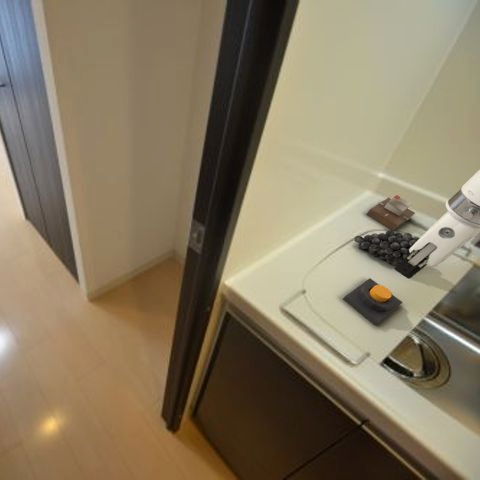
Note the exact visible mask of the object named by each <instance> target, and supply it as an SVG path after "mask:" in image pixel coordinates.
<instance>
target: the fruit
mask: <svg viewBox="0 0 480 480" xmlns="http://www.w3.org/2000/svg"><path fill="white" fill-rule="evenodd" d="M419 239H420V237H419V236H413V235H412V233H410V232H405V233H402V232H395V230H393V231H392V230H390V229H387V231H385V233H384V232H380V233H377V232H376V233H375V232H373V233H372V234H366V235H364V236H361V235H356V236H355V237H354V239H353V240H354V242H355V243H358V245H357V248H358V249H359V250H361V251H364V250H366V251H367V252H369V254H371V255H372V256H373V257H375V258H378V257H379V258H380V260H382V261H385V260H386V262H387V263H389V264H391V265H393V266H397V265H398V264H399V263H400V262H401V261H402V260H404V259H405V258H406V257H407V256H408V255H410V254H412V252H411V253H410V251H409V249H410V248H411V247H412V246H413V245H414V244H415V243H416V242H417V241H418V240H419Z"/></svg>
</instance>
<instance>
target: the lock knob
mask: <svg viewBox="0 0 480 480" xmlns="http://www.w3.org/2000/svg"><path fill="white" fill-rule="evenodd" d="M390 199H391V200H390V201H389V202H388V203H387V204H386V206H385V207H384V208H386V209H388V210H389V211H391V212H393V213H395V214H396V215H398V216H400V215H402V214H403V213H404V212H405V211H406V210H407V209H409V208H410V206H412V203H411V202H409V201H407V200H405V199H403V198H402V197H401V196H400V195H397V194H396V195H394V196H392V197H391V198H390Z"/></svg>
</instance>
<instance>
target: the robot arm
mask: <svg viewBox="0 0 480 480" xmlns="http://www.w3.org/2000/svg"><path fill="white" fill-rule="evenodd" d="M445 207H446V210H447V211H446V212H445V213H444V214H443V215H442V216H441V217H440V218H438V220H436V222H434V223H433V224H432V225H431V226H430V227H429V228H428V229H427V230H426V231H425V232H424V233H423V234H422V235H421V236H420V237H419V238H420V239H419V240H418V241H417V242H416V243H415V244H414V245H413V246H412V247H411V248H410V249H409V251H410V253H411V252H412V254H410V255H408V256H407V257H406V258H405V259H404V260H402V261H401V262H400V263H399V264H398V265H395V266H394V267H393V268H394V270H395V271H396V272H398V273H399V274H400V275H402V276H403V277H404V278H406V279H412V278H413V277H414V276H416V274H418V273H419V272H420V271H421V270H423V269H424V268H425V267H426V266H427V265H429V266H430V267H431V268H436V267H438V266H439V265H440V264H442V263H443V262H444V261H446V260H447V259H448V258H449V257H451V256H452V255H454V254H455V253H456V252H458V251H459V250H460V249H461V248H462V247H464V246H466V244H467V243H468V242H470V241H471V240H472V239H473V238H475V237H476V236H477V235H478V234H479V233H480V169H478V170H477V171H476V172H475V173H474V175H472V176H471V177H470V178H469V179H468V180H467V181H466V182H465V183H464V184H462V186H461V187H460V188H459V189H458V190H457V191H456V192H454V193H453V195H452V196H450V197H449V199H447V200H446V202H445Z"/></svg>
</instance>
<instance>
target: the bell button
mask: <svg viewBox="0 0 480 480" xmlns="http://www.w3.org/2000/svg"><path fill="white" fill-rule="evenodd" d="M369 293H370V295H371V297H372V298H373V299H375V300H376V301H379V302H386V301H387V300H388V299H389V298H390V297H391V296H392V295H393V293H392V292H391V290H390V289H389V288H388V287H386V286H384V285H381V284H379V285H376V286H374V287H373V288H372V289H371V290H370V292H369ZM391 293H392V294H391Z"/></svg>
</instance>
